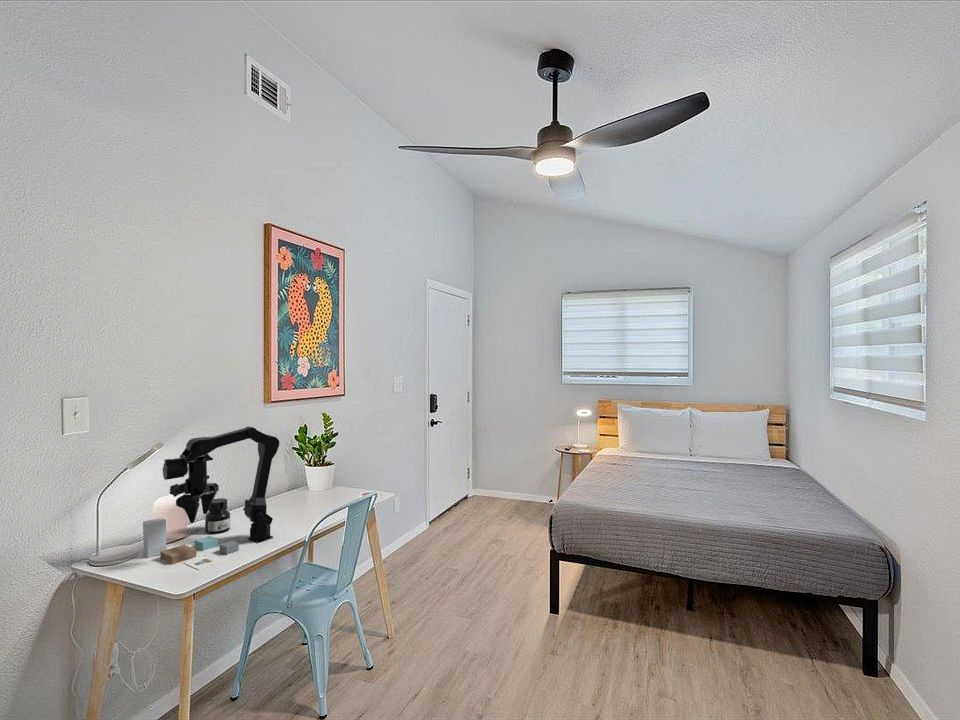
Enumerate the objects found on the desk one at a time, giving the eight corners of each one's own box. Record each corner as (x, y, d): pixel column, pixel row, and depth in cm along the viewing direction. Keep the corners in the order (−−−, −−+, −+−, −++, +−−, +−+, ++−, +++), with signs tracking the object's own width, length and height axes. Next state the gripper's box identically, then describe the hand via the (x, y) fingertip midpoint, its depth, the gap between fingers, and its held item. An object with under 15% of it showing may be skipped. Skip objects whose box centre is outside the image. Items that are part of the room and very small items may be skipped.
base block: (184, 552, 186) (184, 544, 186) (196, 557, 182) (196, 549, 182) (160, 560, 179) (160, 551, 179) (172, 565, 175) (172, 556, 175)
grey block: (231, 548, 190) (231, 540, 190) (238, 551, 187) (238, 543, 187) (219, 552, 186) (219, 544, 186) (226, 555, 183) (226, 547, 183)
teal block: (209, 543, 195) (209, 535, 195) (217, 546, 192) (217, 538, 192) (194, 548, 190) (194, 540, 190) (203, 551, 187) (203, 543, 187)
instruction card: (204, 556, 182) (204, 555, 182) (219, 562, 177) (219, 561, 177) (184, 563, 176) (184, 562, 176) (198, 569, 171) (198, 569, 171)
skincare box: (161, 550, 187) (161, 517, 187) (166, 553, 184) (166, 519, 184) (142, 555, 182) (142, 521, 182) (147, 558, 180) (147, 523, 179)
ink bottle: (208, 536, 201) (208, 505, 201) (200, 530, 207) (200, 500, 207) (234, 530, 208) (234, 500, 208) (226, 525, 214) (226, 496, 214)
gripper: (188, 468, 192) (189, 510, 193) (159, 481, 174) (160, 528, 174) (218, 467, 193) (219, 509, 194) (193, 481, 174) (194, 527, 175)
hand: (198, 518), depth 184 cm, fingers open, 9 cm apart
